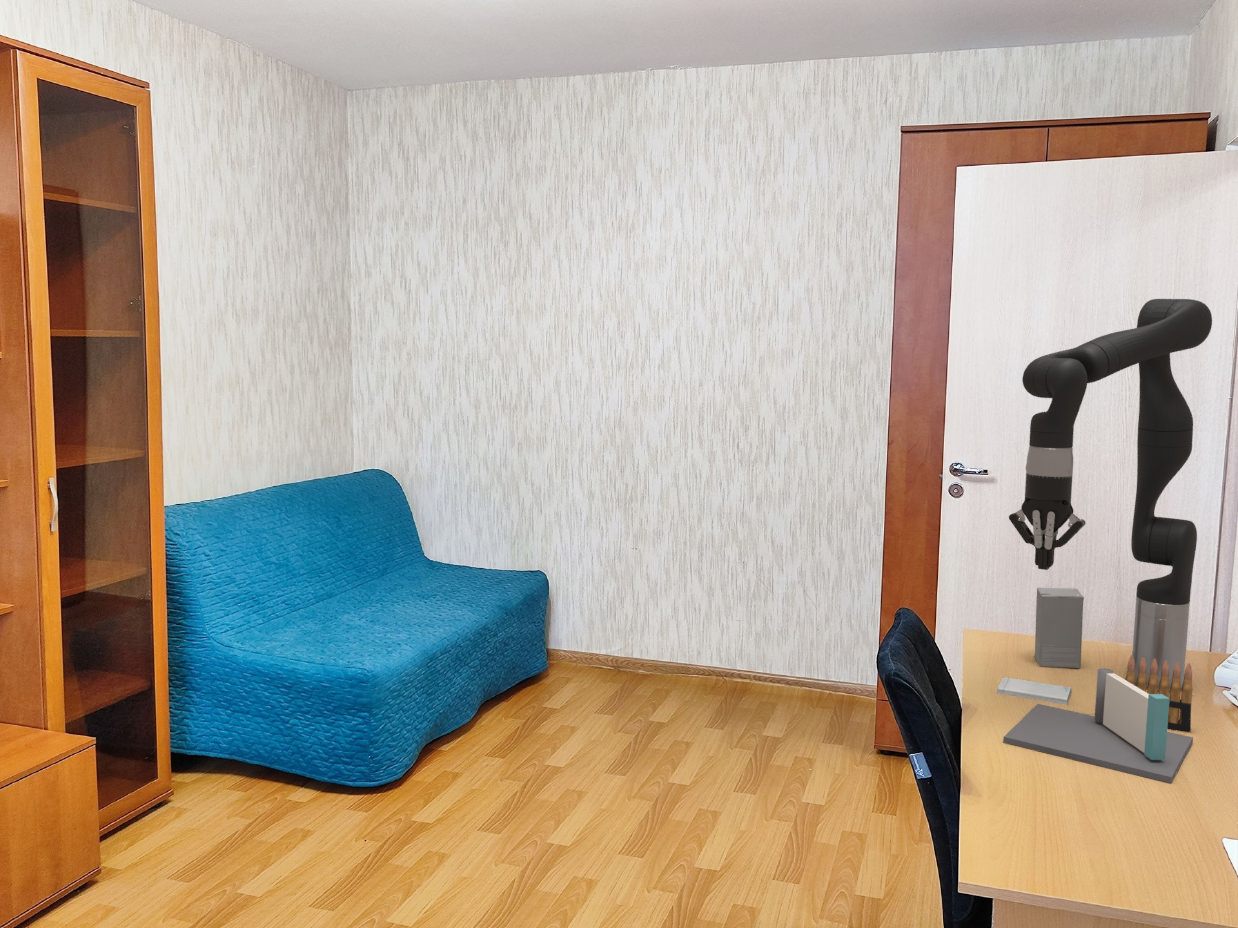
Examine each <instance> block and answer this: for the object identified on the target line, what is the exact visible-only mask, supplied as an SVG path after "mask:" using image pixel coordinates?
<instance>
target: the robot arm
mask: <svg viewBox="0 0 1238 928" xmlns="http://www.w3.org/2000/svg"><path fill="white" fill-rule="evenodd" d="M1136 323H1137V324H1136V327H1133V328H1130V329H1124V330H1119V331H1115V332H1112V333H1108V334H1103V335H1101V336H1099V337H1094V338H1093V339H1090V340H1089V341H1087V342H1084V343H1082V344H1081V345H1078V346H1076V347H1073V348H1069V349H1063V350H1060V351H1055V352H1052V353H1049V354H1046V355H1041V356H1039V357H1037V358H1035V359H1034V360H1032V361H1031V362H1030V363H1028V365H1027V366H1026V367H1025V369H1024V371H1023V374H1022V386H1023V387H1024V389H1025V391H1026V392H1027V393H1028V394H1030V395H1031V396H1033V397H1035V398H1042V399H1051V402H1050V404H1049V407H1048V409H1047V410H1046V411H1041V412H1037V413H1035V414H1034V415H1033V416H1032V417H1031V419H1030V425H1029V443H1028V444H1029V446H1028V451H1027V456H1026V464H1025V486H1024V489H1025V490H1024V500H1023V503H1022V504H1021V506H1020V509H1019V510H1017V511H1016V512H1014V513H1011V514H1009V516H1008V519H1009V521H1010V523H1011V524H1012V526H1013V527H1014V528H1015V530H1016V531H1017V532H1018V534H1019V535H1020V537H1021V539H1022V540H1023V541H1024V542H1025V543H1026V544H1030V545H1032V546H1034V551H1035V553H1034V564H1035V566H1037V568H1038V570H1045V571H1048V570H1049V569H1050V568H1051V567H1053V565H1054V561H1055V550H1056V549H1058V548H1061V547H1063V546H1065V545H1066V544H1067V543H1068V542H1069V541H1071V540H1072V538H1074V536H1075V535H1076V534H1078V532H1079V531H1081V530H1082V529H1083V527H1084V526H1085V525H1086V523H1087V522H1086V520H1085V519H1083V518H1082V519H1080V517H1078V516H1077V515H1076V514H1074V508H1073V505H1072V490H1073V489H1072V488H1073V474H1074V472H1073V471H1074V454H1073V451H1074V449H1073V446H1074V445H1073V444H1074V432H1075V431H1074V429H1075V428H1074V427H1075V422H1076V419H1077V417H1078V415H1079V411H1080V408H1081V406H1082V403H1083V401H1084V397H1085V394H1086V392H1087V391H1086V390H1087V387H1088V384H1093V383H1095V382H1098V381H1101V380H1103V379H1105V378H1107V377H1109V376H1111V375H1114V374H1116V373H1118V372H1120V371H1122V370H1124V369H1125V370H1126V369H1128V368H1129V367H1132V366H1134V365H1137V364H1138V372H1139V373H1138V374H1139V375H1138V376H1139V403H1138V404H1139V405H1138V406H1139V407H1138V409H1139V410H1138V421H1137V437H1136V438H1137V440H1136V441H1137V442H1136V444H1137V445H1136V447H1137V448H1136V449H1137V456H1136V457H1137V464H1136V465H1137V467H1136V471H1137V472H1136V473H1137V474H1136V490H1135V491H1136V493H1135V501H1134V510H1133V519H1132V527H1131V541H1130V542H1131V543H1130V547H1131V553H1132V556H1133V559H1134V560H1135V561H1138V562H1140V563H1147V564H1155V565H1159V566H1166V567H1167V566H1168V567H1172V568H1171V572H1170V573H1168V574H1166V575H1164V576H1161V577H1156V578H1149V579H1144V580H1141V581H1139V582H1138V584H1137V586H1136V595H1135V609H1134V610H1135V612H1134V624H1133V626H1134V627H1133V636H1132V637H1133V639H1132V653H1131V656H1133V658H1134V662H1135V686H1136V681H1137V677H1138V672H1139V665H1140V661H1141V659H1142V658H1143V657H1144V658H1145V661H1146V679H1147V687H1148V680H1149V676H1150V669H1151V664H1152V662H1153V660H1154V659H1156V661H1157V665H1158V691H1159V683H1160V679H1161V672H1162V667H1163V664H1164V662H1165V660H1167V662H1168V665H1169V684H1170V686H1171V682H1172V677H1173V670H1174V666H1175V664H1176V662H1179V665H1180V671H1181V676H1180V678H1181V681H1180V683H1181V691H1182V685H1183V681H1184V674H1185V670H1186V657H1187V643H1188V629H1189V617H1190V616H1189V615H1190V603H1191V591H1192V583H1193V582H1192V581H1193V573H1194V572H1193V571H1194V563H1195V562H1194V561H1195V558H1196V557H1195V556H1196V551H1197V542H1198V531H1197V527H1196V525H1195V523H1194V522H1193V521H1191V520H1188V519H1183V518H1182V519H1181V518H1171V517H1162V516H1155V510H1156V505H1157V502H1158V500H1159V498H1160V496H1161V495H1162V493H1163V492H1164V490H1165V488H1166V487H1167V486H1168V484H1169V483H1170V482H1171V481H1172V480H1173V479H1174V477H1175V476H1176V475H1177V474H1178V472H1179V471H1180V470H1181V469H1182V468H1183V467H1184V465H1185V464H1186V463H1187V461H1188V460H1189V458H1190V456H1191V454H1192V450H1193V436H1194V419H1193V418H1194V417H1193V414H1192V411H1191V409H1190V407H1189V404H1188V403H1187V401H1186V398H1185V397H1184V395H1183V393H1182V392H1181V390H1180V388H1179V387H1178V385H1177V383H1176V381H1175V379H1174V374H1173V371H1172V366H1171V354H1173V353H1177V352H1180V351H1181V352H1182V351H1186V350H1190V349H1194V348H1196V347H1199V346H1200V345H1201V344H1203V343H1204V342H1205V341H1206V339H1207V338H1208V337H1209V336H1210V333H1211V331H1212V325H1213V317H1212V312H1211V309H1210V308H1209V306H1207V304H1206V303H1204V302H1203V301H1200V300H1196V299H1189V298H1153V299H1150V300H1148V301H1146V302H1145V303H1144V305H1142V307H1141V309H1140V310H1139V313H1138V316H1137V322H1136ZM1026 519H1027V521H1028V522H1029V524H1030V525H1031V527H1033V531H1032V530H1031V529H1030V527H1029V526H1028V524H1026V522H1025V521H1026ZM1068 521H1069V522H1068ZM1067 522H1068V523H1067ZM1065 523H1067V526H1068V529H1067V530H1066V531H1065V532H1064V533H1063V534H1062V535H1061V536H1060V537H1058V539H1057V536H1058V534H1059V529H1060V528H1062V527H1063V526H1064V524H1065ZM1147 687H1146V689H1147ZM1169 693H1170V688H1169Z"/></svg>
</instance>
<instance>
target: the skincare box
mask: <svg viewBox="0 0 1238 928" xmlns="http://www.w3.org/2000/svg"><path fill="white" fill-rule="evenodd" d="M1084 598H1085V596H1084V595H1082V593H1081V592H1080V591H1079V589H1078V588H1072V587H1071V588H1068V587H1067V588H1066V587H1065V588H1062V587H1058V588H1057V587H1036V604H1035V607H1036V608H1035V609H1036V610H1035V634H1034V636H1035V638H1034V640H1035V641H1034V658H1035V660H1036V662H1037V664H1038V666H1039V667H1042V668H1043V667H1045V668H1046V667H1049V668H1070V669H1071V668H1072V669H1080V668H1081V667H1082V647H1083V646H1082V641H1083V640H1082V639H1083V618H1084V617H1083V615H1084V600H1085V599H1084Z"/></svg>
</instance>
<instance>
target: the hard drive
mask: <svg viewBox="0 0 1238 928" xmlns="http://www.w3.org/2000/svg"><path fill="white" fill-rule="evenodd" d="M1071 693H1072V687H1070V686H1069V687H1068V686H1065V685H1057V684H1051V683H1045V682H1038V681H1033V680H1024V679H1019V678H1013V677H1004V676H1003V677H1002V679H1001V680H1000V682H999V685H998V686H997V689H996V694H999V695H1005V696H1011V697H1016V698H1024V699H1028V700H1029V699H1030V700H1034V701H1042V702H1047V703H1052V704H1058V705H1064V706H1067V705H1068V704H1069V701H1070V698H1071V695H1070V694H1071Z"/></svg>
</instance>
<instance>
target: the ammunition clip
mask: <svg viewBox="0 0 1238 928" xmlns="http://www.w3.org/2000/svg"><path fill="white" fill-rule="evenodd" d="M1180 676H1181V671H1180V665H1179V662H1176V664H1175V666H1174V670H1173V677H1172V682H1171V686H1170V684H1169V665H1168V662H1167V660H1165V662H1164V664H1163V667H1162V672H1161V679H1160V683H1159V691H1158V665H1157V661H1156V659H1154V660H1153V662H1152V664H1151V669H1150V676H1149V680H1148V687H1147V679H1146V661H1145V658H1144V657H1143V658H1142V659H1141V661H1140V665H1139V672H1138V677H1137V681H1136V685H1135V662H1134V658H1133V656H1132V655H1130V657H1129V659H1128V662H1127V670H1126V675H1125V678H1124V680H1126V681H1128V682H1129V683H1131V684H1133V685H1134V686H1136V687H1138V688H1140V689H1141V690H1143V691H1145V692H1146V693H1148V694H1163V695H1164V696H1166V697H1168V698H1170V701H1169V714H1168V727H1167V730H1170V729H1171V730H1170V731H1176V730H1177V731H1179V732H1182V733H1183V732H1184V733H1191V729H1192V728H1191V725H1192V724H1191V723H1192V721H1191V719H1192V717H1191V715H1192V702H1193V689H1194V688H1193V670H1192V665H1191V663H1189V662H1188V664H1187V665H1186V666H1185V670H1184V681H1183V685H1182V690H1181V683H1180V681H1181V678H1180ZM1146 687H1147V688H1146ZM1169 688H1170V692H1169Z"/></svg>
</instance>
